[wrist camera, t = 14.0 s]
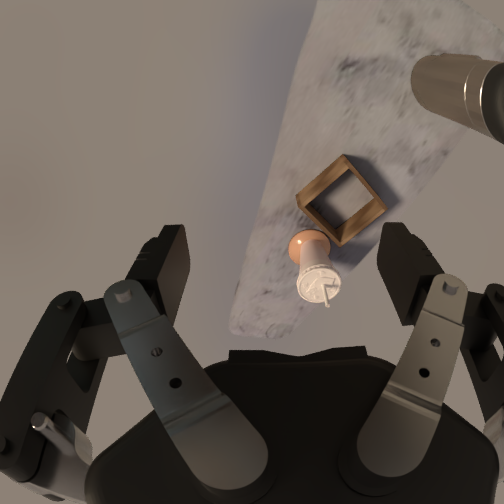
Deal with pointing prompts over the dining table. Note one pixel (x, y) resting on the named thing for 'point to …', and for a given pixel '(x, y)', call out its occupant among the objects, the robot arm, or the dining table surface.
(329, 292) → the smoothie
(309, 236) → the coaster
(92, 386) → the robot arm
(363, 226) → the caddy
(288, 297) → the dining table surface
